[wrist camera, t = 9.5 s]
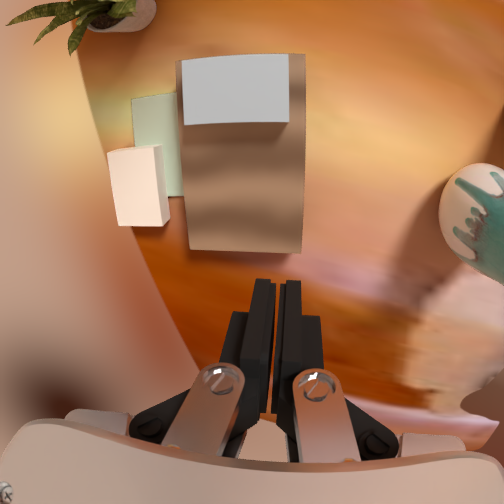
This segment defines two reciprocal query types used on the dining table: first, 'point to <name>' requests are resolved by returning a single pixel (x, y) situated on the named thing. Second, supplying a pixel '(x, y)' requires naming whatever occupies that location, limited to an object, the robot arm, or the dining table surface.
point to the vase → (475, 218)
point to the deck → (246, 176)
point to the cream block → (139, 185)
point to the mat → (160, 134)
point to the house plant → (93, 16)
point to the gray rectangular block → (236, 89)
